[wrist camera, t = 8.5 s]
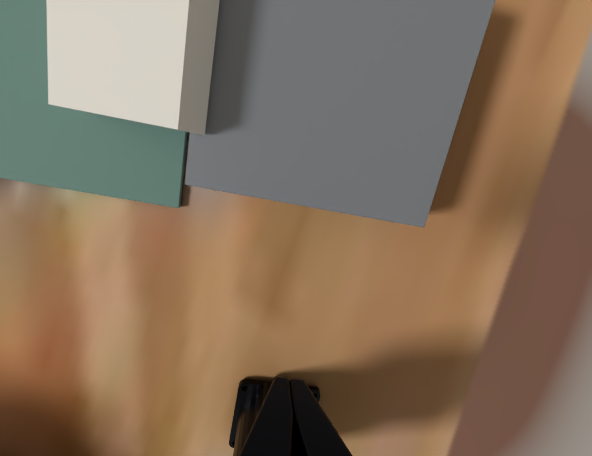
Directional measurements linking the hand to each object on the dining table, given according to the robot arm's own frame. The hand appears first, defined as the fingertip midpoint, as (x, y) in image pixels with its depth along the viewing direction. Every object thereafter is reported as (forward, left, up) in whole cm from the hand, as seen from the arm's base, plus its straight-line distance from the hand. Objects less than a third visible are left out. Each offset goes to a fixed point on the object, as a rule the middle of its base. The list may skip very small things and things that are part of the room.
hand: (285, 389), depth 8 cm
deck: (+10, -1, -12) cm, 16 cm away
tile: (+10, +9, -10) cm, 17 cm away
